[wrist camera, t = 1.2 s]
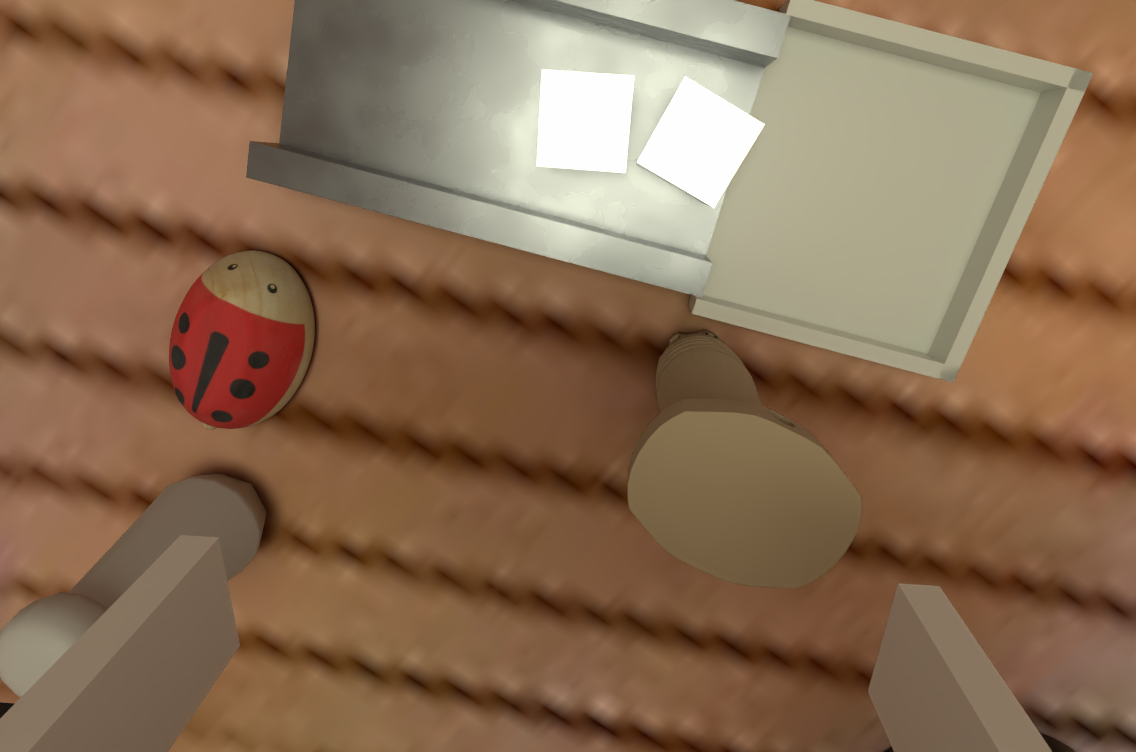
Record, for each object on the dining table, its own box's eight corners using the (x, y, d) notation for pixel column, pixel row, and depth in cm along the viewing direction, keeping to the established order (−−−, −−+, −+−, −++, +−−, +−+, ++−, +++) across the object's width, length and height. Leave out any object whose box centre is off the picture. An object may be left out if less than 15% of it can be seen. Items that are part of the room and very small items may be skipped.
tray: (1058, 80, 28) (1093, 73, 26) (931, 368, 32) (953, 382, 30) (779, 7, 28) (791, -6, 26) (687, 304, 32) (692, 313, 30)
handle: (656, 285, 32) (681, 377, 18) (776, 344, 32) (895, 481, 18) (611, 372, 33) (599, 523, 19) (726, 427, 34) (799, 616, 19)
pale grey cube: (748, 129, 29) (764, 124, 25) (704, 203, 30) (713, 207, 26) (678, 87, 28) (685, 76, 25) (635, 163, 29) (636, 162, 26)
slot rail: (771, 33, 28) (790, 15, 25) (693, 284, 32) (701, 297, 28) (316, -85, 29) (274, -120, 25) (286, 176, 32) (246, 177, 28)
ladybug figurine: (342, 280, 33) (310, 292, 30) (287, 446, 36) (252, 474, 33) (216, 224, 33) (169, 229, 30) (171, 395, 36) (124, 418, 33)
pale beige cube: (633, 87, 28) (634, 75, 25) (625, 172, 30) (625, 172, 26) (551, 81, 29) (541, 69, 25) (546, 166, 30) (536, 166, 26)
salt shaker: (251, 446, 36) (55, 589, 24) (299, 536, 38) (137, 715, 25) (161, 478, 37) (-70, 630, 25) (212, 564, 39) (15, 749, 26)
